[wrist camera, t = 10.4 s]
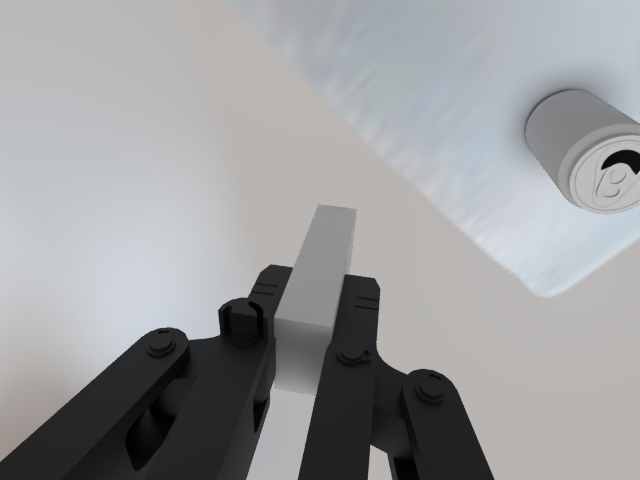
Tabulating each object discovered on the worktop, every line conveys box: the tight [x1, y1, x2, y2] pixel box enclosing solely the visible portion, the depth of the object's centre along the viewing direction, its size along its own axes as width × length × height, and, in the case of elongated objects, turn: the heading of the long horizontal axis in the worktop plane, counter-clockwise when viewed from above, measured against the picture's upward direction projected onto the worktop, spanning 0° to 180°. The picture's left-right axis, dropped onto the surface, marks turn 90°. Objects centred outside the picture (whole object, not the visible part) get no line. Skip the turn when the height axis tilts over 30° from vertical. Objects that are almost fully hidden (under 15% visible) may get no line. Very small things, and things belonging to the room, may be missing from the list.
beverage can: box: [525, 90, 640, 214], centre depth 32 cm, size 6×6×12 cm
